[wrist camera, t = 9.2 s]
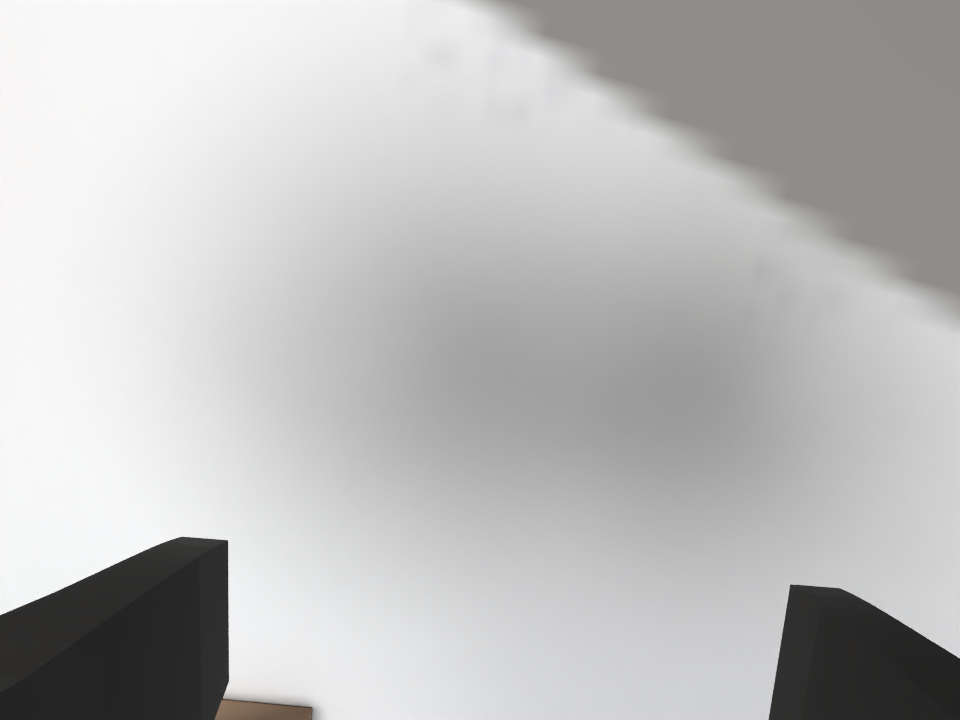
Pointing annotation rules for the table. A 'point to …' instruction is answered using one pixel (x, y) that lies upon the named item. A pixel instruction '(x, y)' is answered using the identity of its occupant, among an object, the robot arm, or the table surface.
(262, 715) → the post stand
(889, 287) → the table surface
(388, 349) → the table surface
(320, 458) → the table surface
